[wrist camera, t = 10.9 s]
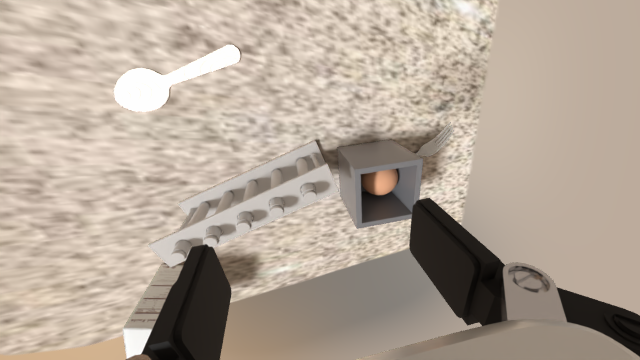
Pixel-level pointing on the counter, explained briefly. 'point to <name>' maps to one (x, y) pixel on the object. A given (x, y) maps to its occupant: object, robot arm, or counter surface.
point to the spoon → (166, 80)
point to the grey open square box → (374, 159)
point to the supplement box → (149, 309)
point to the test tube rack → (249, 202)
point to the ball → (380, 181)
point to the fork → (431, 147)
